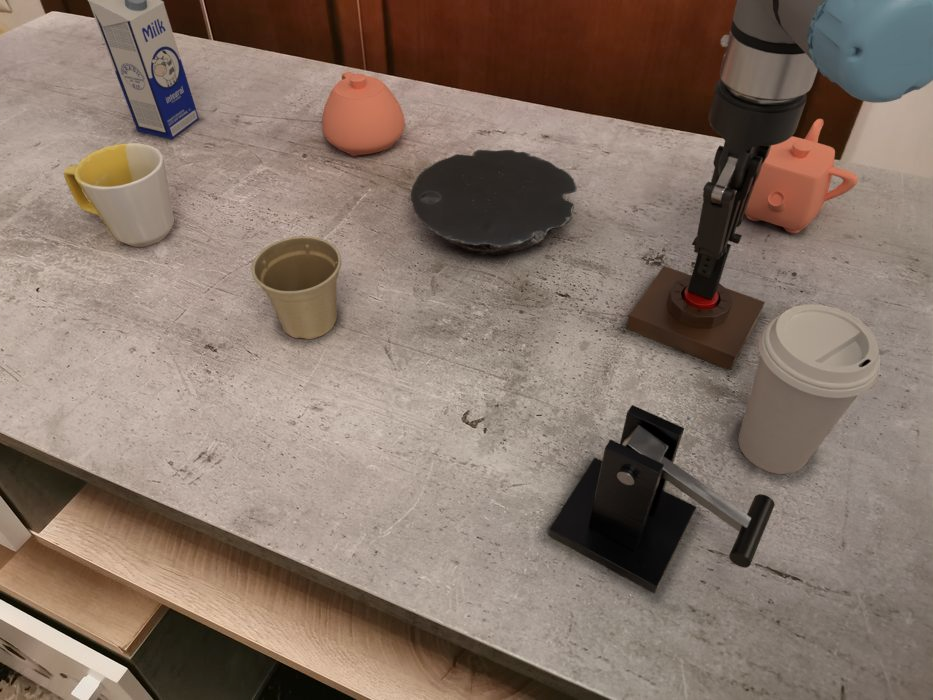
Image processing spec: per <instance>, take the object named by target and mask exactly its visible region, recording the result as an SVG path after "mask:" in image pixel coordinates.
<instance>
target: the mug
mask: <svg viewBox="0 0 933 700" xmlns="http://www.w3.org/2000/svg"><path fill="white" fill-rule="evenodd" d="M63 176H64V179H65V182H66V185H67V188H68V190H69V191H70V194H71V195H72V197H73V199H74V201H75V203H76V204H77V205H78V206H79V208H80V209H81V210H83V212H86V213H89V214H92V215H94V216H98V217H100V219H101V220H102V222H103V223H104V225H105V226H106V228H107V229H108V231H109V232H110V234H111V235H112V236H113V238H114V239H115V240H117V241H118V242H121V243H123V244H126V245H128V246H131V247H135V248H136V247H137V248H143V247H149V246H153V245H155V244H158V243H160V242H161V241H163V240H164V239H165V238H166V237H167V236H168V234H169V233H170V231H171V230H172V228H173V226H174V223H175V215H174V210H173V205H172V200H171V194H170V188H169V187H170V186H169V183H168V176H167V170H166V165H165V159H164V156H163V154H162V152H161V151H160V150H159V149H157V148H156V147H155V146H152V145H149V144H145V143H139V142H129V143H128V142H127V143H119V144H114V145H109V146H106V147H103V148H102V147H101V148H100V149H97V150H95V151H93V152H91V153H89V154H88V155H86V156H85V157H83V158H82V159H81V160H80V161H79V162H78V164H72V165H69V166H67V167H66V168H65V169H64V171H63Z"/></svg>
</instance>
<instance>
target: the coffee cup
mask: <svg viewBox="0 0 933 700" xmlns="http://www.w3.org/2000/svg"><path fill="white" fill-rule="evenodd" d="M758 350H759V354H760V356H759V359H758V363H757V366H756V371H755V375H754V378H753V382H752V386H751V390H750V394H749V397H748V401H747V404H746V407H745V412H744V416H743V419H742V423H741V426H740V430H739V434H738V445H739V449H740V450H741V452H742V454H743V455H744V457H745V458H746V460H748V461H749V462H750V463H751V464H753V465H754V466H755V467H757V468H759V469H761V470H763V471H765V472H769V473H772V474H777V475H788V474H789V475H790V474H793V473H797V472H798V471H800V470H802V469H803V468H804V467H805V466H806V465H807V464H808V462H809V461H810V459H811V458H812V456H813V455H814V454H815V452H816V451H817V450H818V449H819V447H820V446H821V445H822V444H823V442H824V441H825V439H826V438H827V437H828V435H829V434H830V433H831V431H832V430H833V429H834V428H835V426H836V425H837V424H838V422H839V421H840V419H841V418H842V417H843V416H844V414H845V413H846V412H847V411H848V409H849V408H850V407H851V405H852V404H853V402H854V401H855V400H856V399H857V398H858V397H859V395H861V394H864V393H865V392H867V391H869V390H870V389H871V388H872V387H874V385H875V383H876V382H877V381H878V379H879V376H880V369H881V356H880V352H879V344H878V340H877V339H876V336H875V335H874V332H873V331H872V330H871V329H870V327H868V326H867V325H866V324H865V323H864V322H863V321H862V320H861V319H859V318H857V317H856V316H854V315H852V314H851V313H849V312H846V311H844V310H842V309H839V308H836V307H833V306H829V305H823V304H814V303H810V304H808V303H807V304H799V305H796V306H792V307H790V308H787V309H786V310H784V312H783V313H781V314H779V315H777V316H776V317H774V318H773V319H772V320H770V322H768V323H767V324H766V326H765V327H764V328H763V329H762V331H761V333H760V334H759V337H758Z"/></svg>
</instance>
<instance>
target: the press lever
mask: <svg viewBox="0 0 933 700" xmlns="http://www.w3.org/2000/svg"><path fill="white" fill-rule="evenodd" d="M622 445H624V446H626V447H628V448H630V449H632V450H634V451H637V452H639V453H641V454H643V455H645V456H647V457H649V458H651V459H654V460H656V461H658V462H660V463H662V464H664V468H663V471H662V474H661V477H662V478H664V479H665V480H667V483H669V484H671V485H672V486H674V488H677V489H678V490H679V491H681V492H682V493H683V494H685V495H687V496H688V497H689V498H690V499H692V500H693V501H694V502H696V503H698V504H699V505H701V506H702V507H704V508H705V510H707V511H709V512H710V513H711V514H713V515H714V516H715V517H717V518H719V519H720V520H722V521H723V522H724V523H726V524H727V525H728V526H730V527H731V528H732V529H734V530H736V531H738V534H737V536H736V538H735V541H734V543H733V545H732V548H731V550H730V551H729V554H728V559H729V561H730V562H731V563H733V564H734V565H736V566H737V567H739V568H745V569H746V568H749V567H750V566H751V564H752V562H753V560H754V557H755V555H756V553H757V551H758V547H759V545H760V542H761V540H762V538H763V535H764V532H765V531H766V528H767V525H768V523H769V521H770V518H771V516H772V513H773V510H774V508H775V505H776V503H775V501H774V500H773V498H771V497H770V496H769V495H766V494H764V493H763V494H762V493H759V494H756V495H755V496H754V497H753V499H752V501H751V504H750V506H749V508H748V511H747V513H745V511H743V510H741V509H740V508H738V507H737V506H735V505H734V504H733V503H731V502H730V501H729V500H727V499H726V498H724V497H722V496H721V495H720V494H719V493H718V492H715V491H714V490H713V489H711V488H710V487H708V485H706V484H705V483H703V482H701V481H700V480H698V479H697V478H695V476H693V475H691V474H690V473H689V472H687V471H686V470H684V469H683V468H681V466H679V465H677V464H676V463H675V462H671V461H670V460H669V459H667V458H666V457H664V454H665V452H666V450H667V449H668V447H669V446H668V445H667V444H665V443H664V442H663V441H661V440H660V439H658V438H657V437H655V436H654V435H653V434H651V433H650V432H648V431H647V430H645V429H644V428H643V427H641V426H640V425H638V426H637V427H636V428H635V429H634V430H633V431H632V432H631V433H630V435H629V436H628V437H627V438H626V439H625V441H624V442H623V444H622Z"/></svg>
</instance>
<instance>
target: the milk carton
mask: <svg viewBox="0 0 933 700" xmlns="http://www.w3.org/2000/svg"><path fill="white" fill-rule="evenodd" d="M87 2H88V4H89V6H90V9H91V11H92V14H93V17H94V20H95V22H96V25H97V27H98V31H99V33H100V36H101V38H102V40H103V41H102V42H103V43H104V46H105V49H106V51H107V54H108V57H109V59H110V62H111V65H112V67H113V70H114V72H115V75H116V78H117V81H118V83H119V86H120V88H121V91H122V94H123V96H124V99H125V102H126V105H127V107H128V110H129V113H130V115H131V118H132V120H133V123H134V125H135V128H136V131H137V132H139V133H142V134H147V135H151V136H155V137H159V138H164V139H167V140H171V141H172V140H173V139H174V138H176V137H178V135H180V134H181V133H183V132H184V131H186V130H187V129H188V128H189V127H191V126H192V125H193V124H195V123H196V122H197V121H199V120H200V117H199V115H198V114H199V113H198V110H197V107H196V104H195V100H194V98H193V94H192V91H191V87H190V84H189V81H188V78H187V75H186V71H185V68H184V65H183V62H182V58H181V55H180V51H179V49H178V45H177V41H176V39H175V36H174V32H173V29H172V25H171V23H170V19H169V16H168V12H167V9H166V6H165V1H163V0H87Z"/></svg>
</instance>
